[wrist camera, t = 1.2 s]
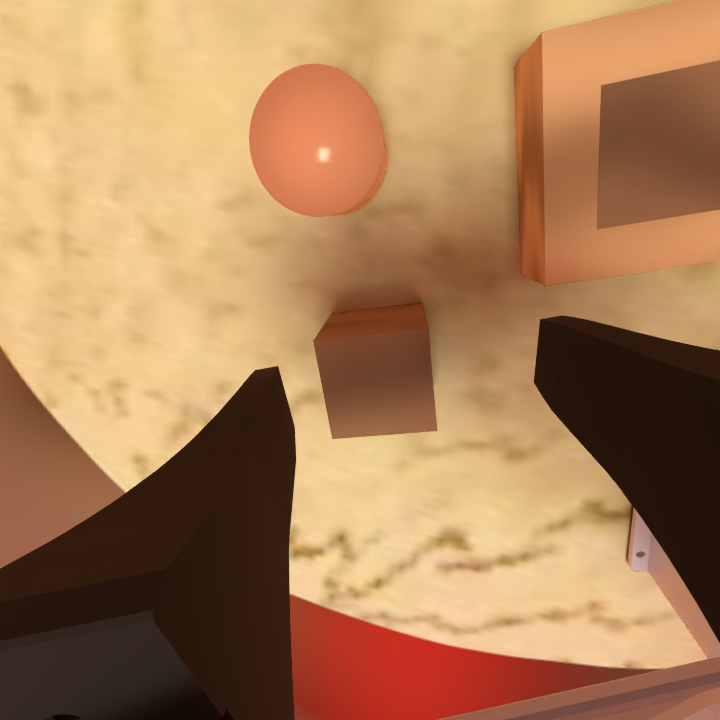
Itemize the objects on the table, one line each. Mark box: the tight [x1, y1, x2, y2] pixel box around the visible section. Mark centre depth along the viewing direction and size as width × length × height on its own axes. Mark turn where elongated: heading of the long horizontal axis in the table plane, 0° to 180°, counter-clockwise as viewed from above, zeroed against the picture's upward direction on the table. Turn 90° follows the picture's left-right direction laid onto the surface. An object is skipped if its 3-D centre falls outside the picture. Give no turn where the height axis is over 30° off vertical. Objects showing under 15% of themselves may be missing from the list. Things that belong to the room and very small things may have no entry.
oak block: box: [514, 0, 720, 286], centre depth 17 cm, size 9×9×4 cm
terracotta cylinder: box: [249, 64, 387, 217], centre depth 17 cm, size 5×5×5 cm
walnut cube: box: [314, 303, 437, 439], centre depth 20 cm, size 5×5×5 cm
